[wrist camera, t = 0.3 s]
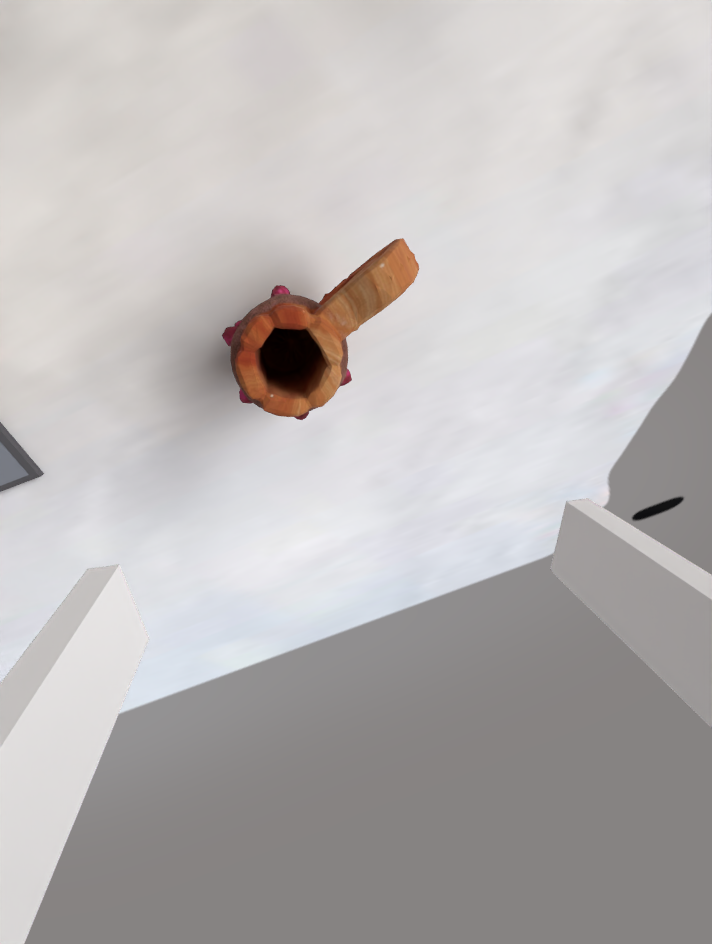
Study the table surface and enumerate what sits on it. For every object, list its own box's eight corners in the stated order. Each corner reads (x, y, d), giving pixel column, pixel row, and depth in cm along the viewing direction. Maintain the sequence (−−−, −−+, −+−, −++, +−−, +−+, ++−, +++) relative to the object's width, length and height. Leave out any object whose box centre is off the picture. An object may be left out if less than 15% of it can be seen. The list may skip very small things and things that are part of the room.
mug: (281, 408, 36) (279, 467, 22) (219, 340, 32) (172, 361, 19) (397, 310, 34) (471, 310, 20) (344, 228, 30) (392, 161, 17)
